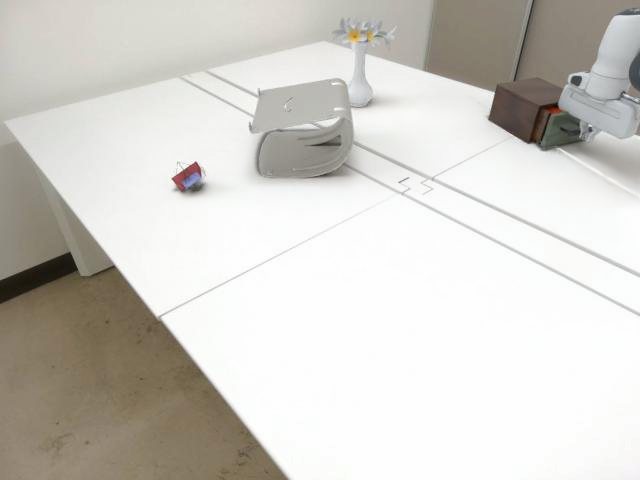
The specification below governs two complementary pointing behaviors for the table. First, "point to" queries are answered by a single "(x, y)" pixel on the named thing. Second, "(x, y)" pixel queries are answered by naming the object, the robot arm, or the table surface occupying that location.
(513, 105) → the cabinet
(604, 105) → the robot arm
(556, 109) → the clementine
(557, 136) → the drawer
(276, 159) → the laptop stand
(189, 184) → the geometric puzzle
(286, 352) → the table surface
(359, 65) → the flower vase
